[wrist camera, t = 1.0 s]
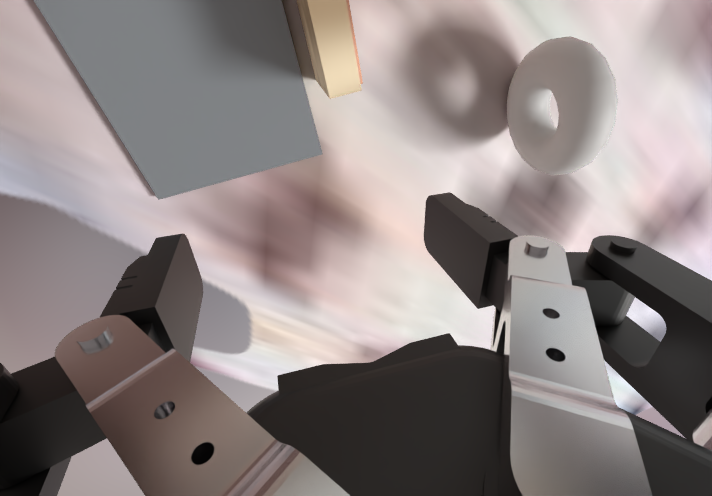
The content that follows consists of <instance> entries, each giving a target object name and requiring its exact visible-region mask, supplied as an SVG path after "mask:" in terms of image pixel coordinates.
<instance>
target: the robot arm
mask: <svg viewBox="0 0 712 496" xmlns="http://www.w3.org/2000/svg"><path fill="white" fill-rule="evenodd" d="M424 242H425V246H426V248H427V250H428V252H429V253H430V254H431V255H432V257H433V258H434V259H435V260H436V261H437V262H438V264H439V265H440V266H441V267H442V268H443V269H444V270H445V272H446V273H447V274H448V275H449V276H450V277H451V279H452V280H453V281H454V282H455V283H456V284H457V285H458V287H459V288H460V289H461V290H462V291H463V292H464V293H465V295H466V296H467V297H468V298H469V299H470V300H471V302H472V303H473V304H474V305H475V306H476V307H477V308H478V309H479V308H483V307H488V306H492V305H494V306H495V307H496V308H495V313H494V318H493V328H492V339H491V350H489V349H485V348H480V347H474V346H458V345H457V343H456V342H455V340H454V339H453V338H452V336H451V335H450V333H449V334H444V335H440V336H436V337H432V338H428V339H424V340H420V341H416V342H412V343H409V344H407V345H405V346H403V347H401V348H399V349H398V350H396V351H394V352H392V353H390V354H388V355H386V356H384V357H382V358H380V359H378V360H376V361H374V362H370V363H350V364H323V365H319V366H315V367H311V368H306V369H302V370H298V371H294V372H290V373H286V374H282V375H278V387H279V391H277V392H275V393H273V394H271V395H269V396H268V397H266V398H265V399H263V400H262V401H260V402H259V403H257V404H256V405H255V406H254V407H252V408H251V409H250V410H249V411H248V412H247V413H246V412H244V411H243V410H242V409H241V408H240V407H239V406H238V405H237V404H236V403H234V402H233V401H232V400H231V399H230V398H229V397H228V396H227V395H226V394H224V393H223V392H222V391H221V390H220V389H219V388H218V387H216V386H215V385H214V384H213V383H212V382H211V381H210V380H209V379H208V378H207V377H205V376H204V375H203V374H202V373H201V372H200V371H199V370H198V369H196V368H195V367H194V366H193V365H192V364H191V363H190V359H191V354H192V349H193V344H194V339H195V333H196V328H197V323H198V317H199V312H200V306H201V302H202V297H203V284H202V279H201V275H200V272H199V269H198V266H197V264H196V261H195V258H194V255H193V252H192V249H191V247H190V244H189V241H188V239H187V237H186V235H185V234H178V235H171V236H165V237H159V238H156V239H155V241H154V243H153V245H152V248H151V250H150V252H149V254H148V255H147V256H141V257H139V258H138V259H137V260H136V261H134V262H133V263H132V264H131V265H130V266H128V267H127V269H126V271H125V273H124V274H123V276H122V278H121V279H122V280H121V281H120V282H119V283H118V285H117V287H116V290H115V291H114V292H113V294H112V296H111V298H110V300H109V301H108V303H107V305H106V307H105V309H104V310H103V312H102V314H101V316H100V318H97V319H94V320H91V321H89V322H87V323H85V324H83V325H81V326H79V327H77V328H76V329H74V330H73V331H71V332H70V333H69V334H68V335H66V336H65V337H64V338H63V339H62V341H61V342H60V343H59V344H58V346H57V347H56V350H55V357H53V358H51V359H48V360H45V361H43V362H40V363H38V364H35V365H32V366H30V367H27V368H25V369H22V370H20V371H17V372H15V373H12V374H10V373H9V372H8V370H7V369H6V368H5V367H4V366H3V365H2V364H1V363H0V496H57V494H58V491H59V489H60V486H61V483H62V481H63V478H64V475H65V472H66V470H67V467H68V464H69V462H70V459H71V456H73V455H75V454H77V453H79V452H81V451H83V450H85V449H87V448H89V447H91V446H93V445H95V444H97V443H98V442H100V441H102V440H104V439H106V438H107V439H108V440H109V442H110V443H111V445H112V446H113V448H114V449H115V451H116V452H117V454H118V455H119V457H120V458H121V460H122V461H123V463H124V464H125V466H126V467H127V469H128V470H129V472H130V474H131V475H132V476H133V478H134V480H135V481H136V482H137V484H138V486H139V487H140V489H141V490H142V492H143V493H144V495H145V496H712V281H711V280H709V279H707V278H705V277H704V276H702V275H700V274H698V273H696V272H694V271H692V270H691V269H689V268H687V267H685V266H683V265H681V264H679V263H678V262H676V261H674V260H672V259H670V258H668V257H667V256H665V255H663V254H661V253H659V252H657V251H655V250H654V249H652V248H650V247H648V246H646V245H644V244H642V243H640V242H638V241H635V240H632V239H629V238H625V237H620V236H610V235H609V236H599V237H596V238H594V239H593V241H592V243H591V246H590V248H589V251H588V252H565V250H564V248H563V247H562V246H561V245H560V244H558V243H556V242H555V241H552V240H550V239H547V238H544V237H539V236H531V235H526V236H517V235H516V234H514V233H513V232H512V231H510V230H509V229H507V228H506V227H505V226H503V225H502V224H500V223H499V222H496V220H495V219H493V218H492V217H490V216H489V217H488V214H486V213H485V212H483V211H482V210H480V209H479V208H476V207H474V206H471V205H468V204H466V203H464V202H463V201H461V200H460V199H459V198H457V197H456V196H455V195H453V194H452V193H443V194H437V195H431V196H429V197H428V198H427V200H426V210H425V225H424ZM635 297H636V298H637V299H639V300H640V301H642V302H643V303H645V304H646V305H647V306H649V307H650V308H652V309H653V310H655V311H656V312H657V313H659V314H660V315H661V316H662V318H663V319H664V321H665V323H666V327H667V330H666V334H665V336H664V338H663V339H662V341H661V342H660V341H658V340H657V339H656V338H654V337H653V336H652V335H650V334H649V333H648V332H647V331H645V330H644V329H643V328H641V327H640V326H639V325H638V324H636V323H635V322H634V321H632V320H631V319H630V318H628V317H627V316H626V314H627V312H628V310H629V308H630V306H631V304H632V302H633V300H634V298H635ZM604 360H605V361H606V362H607V363H608V364H609V365H610V366H611V367H612V368H613V369H614V370H615V371H616V372H617V373H618V374H619V375H620V376H621V377H623V378H624V379H625V380H626V381H627V382H628V383H629V384H630V385H631V386H632V387H633V388H634V389H635V390H636V391H637V392H638V393H639V394H640V395H641V396H642V397H643V398H644V399H646V400H647V401H648V402H649V403H650V404H651V405H652V406H653V407H654V408H655V409H656V410H657V411H658V412H659V413H660V414H661V415H662V416H663V417H664V418H665V419H666V420H668V421H669V422H670V423H671V424H672V425H673V426H674V427H675V428H676V429H677V430H678V431H679V432H680V433H681V434H682V435H683V436H684V437H685V438H686V439H685V438H683V437H681V436H679V435H677V434H675V433H672V432H670V431H668V430H666V429H664V428H662V427H659V426H657V425H655V424H653V423H651V422H649V421H646V420H644V419H642V418H640V417H638V416H636V415H634V414H631V413H629V412H627V411H625V410H623V409H621V408H619V407H617V405H616V403H615V401H614V397H613V394H612V390H611V386H610V382H609V378H608V374H607V370H606V366H605V362H604Z"/></svg>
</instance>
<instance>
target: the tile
mask: <svg viewBox="0 0 712 496" xmlns="http://www.w3.org/2000/svg"><path fill="white" fill-rule="evenodd" d="M296 1H297V5H298V9H299V13H300V17H301V21H302V25H303V29H304V33H305V38H306V42H307V46H308V50H309V54H310V58H311V62H312V66H313V70H314V74H315V78H316V81H317V82H318V84H319V85H320V86H321V88H322V89H323V90H324V92H325V93H326V94H327V96H328V97H329V98H330V99H331V98H335V97H339V96H343V95H346V94H350V93H354V92H358V91H361V84H363V82H362V76H361V70H360V64H359V58H358V53H357V47H356V41H355V35H354V29H353V23H352V17H351V11H350V5H349V0H296Z"/></svg>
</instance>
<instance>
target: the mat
mask: <svg viewBox="0 0 712 496" xmlns="http://www.w3.org/2000/svg"><path fill="white" fill-rule="evenodd" d="M34 2H35V4H36V5H37V7H38V8H39V10H40V12H41V13H42V15H43V16H44V18H45V19H46V21H47V23H48V24H49V26H50V27H51V29H52V31H53V32H54V34H55V35H56V37H57V39H58V40H59V42H60V43H61V45H62V47H63V48H64V50H65V51H66V53H67V55H68V56H69V58H70V59H71V61H72V63H73V64H74V66H75V67H76V69H77V71H78V72H79V74H80V75H81V77H82V79H83V80H84V82H85V83H86V85H87V87H88V88H89V90H90V91H91V93H92V94H93V96H94V98H95V99H96V101H97V102H98V104H99V106H100V107H101V109H102V110H103V112H104V114H105V115H106V117H107V118H108V120H109V122H110V123H111V125H112V126H113V128H114V130H115V131H116V133H117V134H118V136H119V138H120V139H121V141H122V142H123V144H124V146H125V147H126V149H127V150H128V152H129V154H130V155H131V157H132V158H133V160H134V162H135V163H136V165H137V166H138V168H139V170H140V171H141V173H142V174H143V176H144V177H145V179H146V181H147V182H148V184H149V185H150V187H151V189H152V190H153V192H154V193H155V195H156V197H157V198H158V200H159V199H163V198H166V197H170V196H174V195H177V194H181V193H184V192H188V191H192V190H195V189H199V188H202V187H206V186H210V185H213V184H217V183H221V182H224V181H228V180H231V179H235V178H239V177H242V176H246V175H249V174H253V173H257V172H260V171H264V170H267V169H271V168H275V167H278V166H282V165H285V164H289V163H293V162H296V161H300V160H303V159H307V158H311V157H314V156H318V155H321V154H322V150H321V146H320V142H319V139H318V135H317V131H316V127H315V124H314V120H313V116H312V112H311V109H310V105H309V101H308V98H307V94H306V90H305V86H304V83H303V79H302V75H301V71H300V68H299V64H298V60H297V56H296V53H295V49H294V45H293V41H292V38H291V34H290V30H289V26H288V23H287V19H286V15H285V11H284V8H283V4H282V0H34Z"/></svg>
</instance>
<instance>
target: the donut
mask: <svg viewBox="0 0 712 496" xmlns="http://www.w3.org/2000/svg"><path fill="white" fill-rule="evenodd" d="M552 93H553V95H554V97H555V99H556V102H557V106H558V112H559V121H558V127H557V128H556V127H555V125H554V123H553V120H552V118H551V112H550V99H551V95H552ZM617 103H618V97H617V90H616V83H615V78H614V76H613V74H612V71H611V69H610V67H609V65H608V62H607V60H606V58H605V57H604V56H603V55H602V54H601V53H600V52H599V51H598V50H597V49H596V48H595V47H594V46H593V45H592V44H590V43H588V42H585V41H582V40H579V39H577V38H574V37H562V38H556V39H550V40H547V41H545V42H543V43H542V44H540V45H539V46H537V47H536V48H535V49H533V50H532V51H530V52H529V53H528V54H527V55H526V56H525V57H524V59H523V60H522V62H521V63H520V65H519V66H518V68H517V69H516V71H515V73H514V75H513V78H512V81H511V84H510V86H509V91H508V98H507V121H508V126H509V131H510V135H511V138H512V141H513V143H514V146H515V148H516V150H517V151H518V153H519V154H520V156H521V157H522V159H523V160H524V161H526V162H527V163H528V164H529V165H530V166H531V167H533V168H534V169H535V170H538V171H540V172H543V173H546V174H549V175H560V174H569V173H573V172H575V171H577V170H579V169H581V168H583V167H584V166H586V165H588V164H589V163H591V162H592V161H593V160H594V159H595V158H596V157H597V156H598V154H599V153H600V152H601V151H602V149H603V148H604V147H605V146H606V144H607V142H608V140H609V137H610V135H611V132H612V130H613V127H614V125H615V120H616V112H617Z"/></svg>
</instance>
